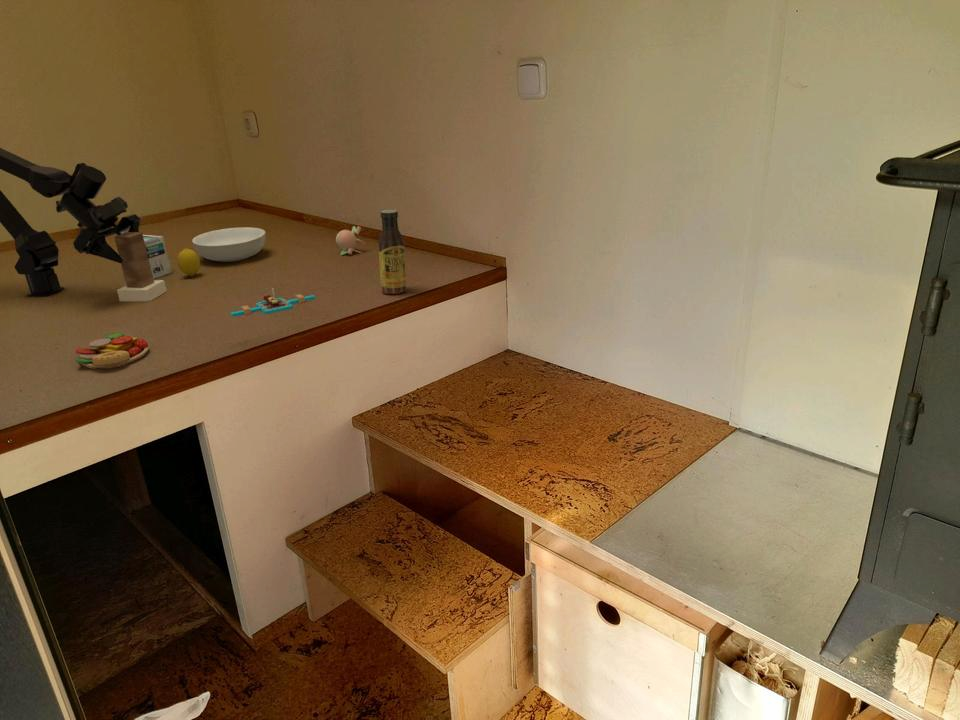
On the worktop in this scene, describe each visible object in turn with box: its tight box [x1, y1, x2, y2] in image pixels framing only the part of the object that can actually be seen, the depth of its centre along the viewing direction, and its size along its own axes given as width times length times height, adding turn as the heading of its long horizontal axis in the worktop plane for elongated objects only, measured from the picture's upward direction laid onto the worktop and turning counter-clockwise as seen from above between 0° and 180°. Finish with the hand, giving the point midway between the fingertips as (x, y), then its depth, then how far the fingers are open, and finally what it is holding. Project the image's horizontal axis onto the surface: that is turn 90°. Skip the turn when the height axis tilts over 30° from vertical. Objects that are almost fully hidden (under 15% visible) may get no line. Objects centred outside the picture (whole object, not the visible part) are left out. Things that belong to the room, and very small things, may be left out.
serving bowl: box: [191, 227, 267, 263], centre depth 207 cm, size 21×21×7 cm
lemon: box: [177, 247, 201, 277], centre depth 190 cm, size 6×6×8 cm
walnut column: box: [113, 231, 155, 288], centre depth 173 cm, size 4×4×13 cm
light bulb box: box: [143, 234, 172, 280], centre depth 193 cm, size 11×7×11 cm, turn 65°
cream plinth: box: [116, 279, 167, 302], centre depth 176 cm, size 8×8×3 cm
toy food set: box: [75, 332, 150, 369], centre depth 139 cm, size 13×13×3 cm
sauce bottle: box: [378, 209, 407, 295], centre depth 167 cm, size 7×6×20 cm
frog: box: [335, 225, 366, 256], centre depth 206 cm, size 10×8×8 cm
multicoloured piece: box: [230, 287, 316, 317], centre depth 164 cm, size 20×5×9 cm
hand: (134, 256), depth 172 cm, fingers open, 9 cm apart
